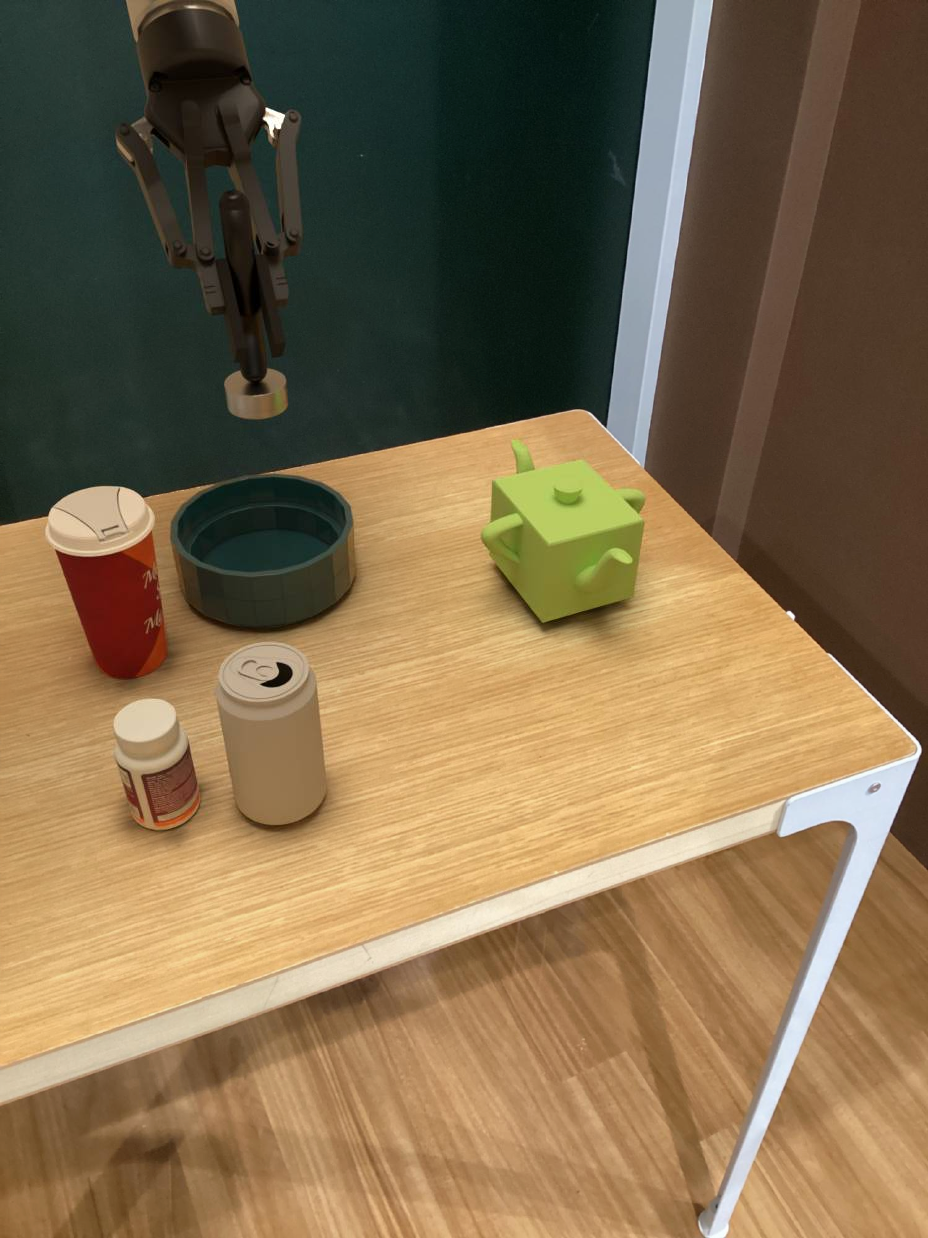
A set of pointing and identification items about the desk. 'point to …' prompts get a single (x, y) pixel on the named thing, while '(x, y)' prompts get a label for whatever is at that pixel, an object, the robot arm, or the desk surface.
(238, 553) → the bowl
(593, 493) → the teapot
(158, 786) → the pill bottle
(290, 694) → the beverage can
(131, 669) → the paper cup
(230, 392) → the rod on base
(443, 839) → the desk surface
